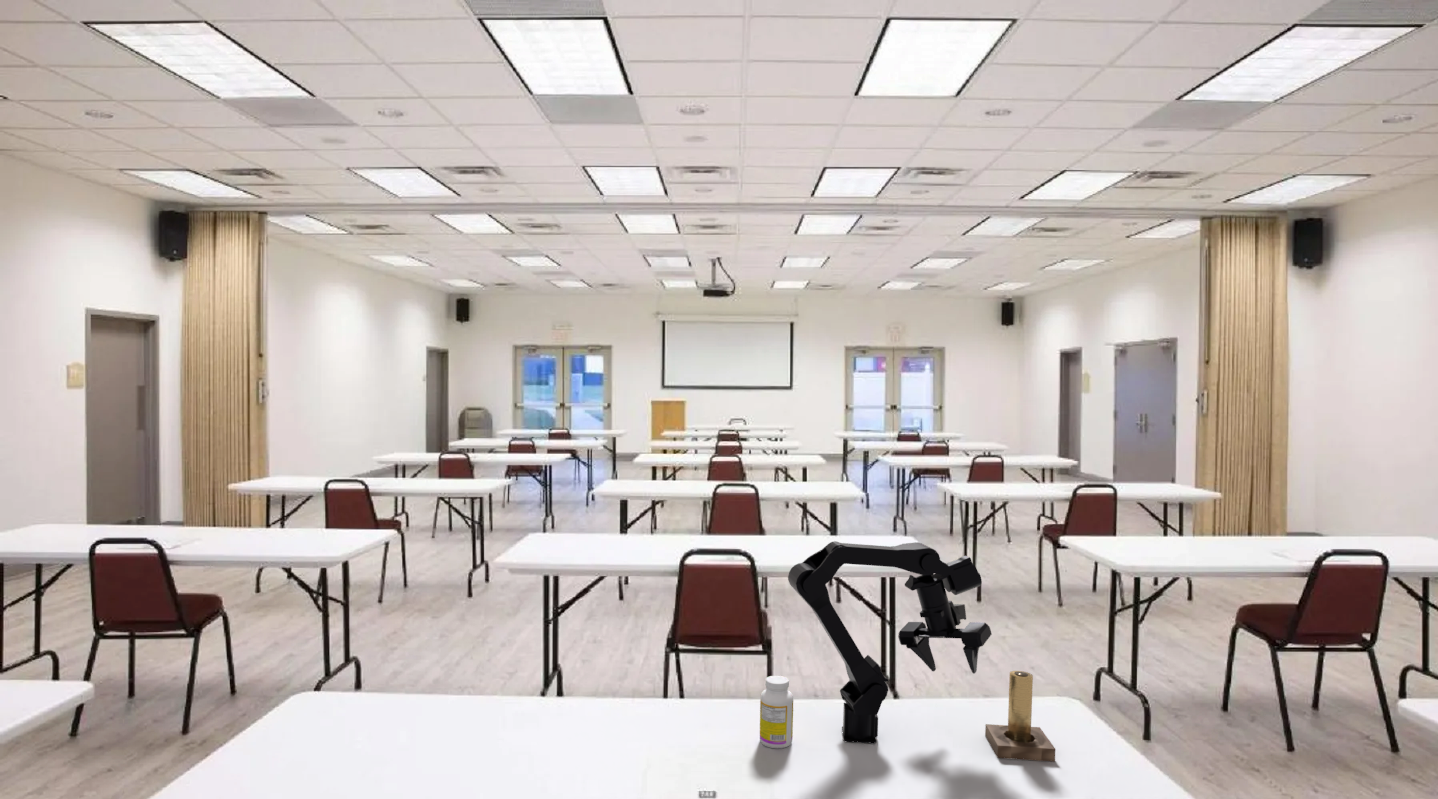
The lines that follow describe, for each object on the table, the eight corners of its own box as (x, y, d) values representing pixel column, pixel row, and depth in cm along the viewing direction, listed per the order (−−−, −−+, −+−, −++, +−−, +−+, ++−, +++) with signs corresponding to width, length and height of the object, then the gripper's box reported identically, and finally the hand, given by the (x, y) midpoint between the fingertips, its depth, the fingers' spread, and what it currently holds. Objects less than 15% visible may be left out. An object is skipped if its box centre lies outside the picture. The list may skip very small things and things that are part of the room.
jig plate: (997, 758, 163) (997, 745, 163) (985, 735, 173) (985, 724, 173) (1054, 761, 162) (1055, 748, 162) (1039, 739, 172) (1039, 727, 172)
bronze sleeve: (1015, 754, 165) (1018, 678, 164) (1002, 744, 169) (1005, 670, 169) (1035, 752, 166) (1037, 676, 165) (1021, 742, 170) (1023, 669, 170)
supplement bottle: (774, 732, 172) (776, 671, 171) (799, 743, 167) (800, 680, 167) (752, 741, 167) (754, 678, 167) (777, 753, 162) (778, 688, 162)
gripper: (990, 585, 173) (1010, 654, 174) (911, 586, 185) (929, 651, 186) (970, 608, 164) (991, 681, 166) (888, 608, 176) (908, 676, 178)
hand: (954, 671), depth 174 cm, fingers open, 9 cm apart
